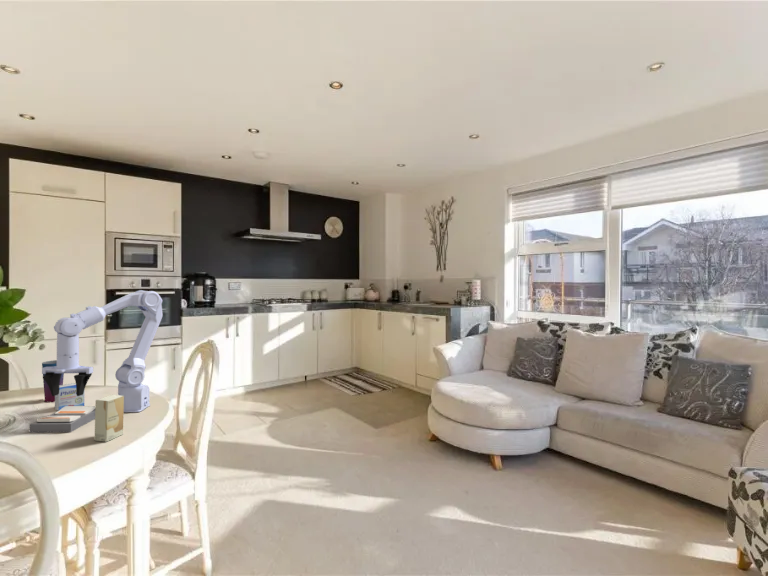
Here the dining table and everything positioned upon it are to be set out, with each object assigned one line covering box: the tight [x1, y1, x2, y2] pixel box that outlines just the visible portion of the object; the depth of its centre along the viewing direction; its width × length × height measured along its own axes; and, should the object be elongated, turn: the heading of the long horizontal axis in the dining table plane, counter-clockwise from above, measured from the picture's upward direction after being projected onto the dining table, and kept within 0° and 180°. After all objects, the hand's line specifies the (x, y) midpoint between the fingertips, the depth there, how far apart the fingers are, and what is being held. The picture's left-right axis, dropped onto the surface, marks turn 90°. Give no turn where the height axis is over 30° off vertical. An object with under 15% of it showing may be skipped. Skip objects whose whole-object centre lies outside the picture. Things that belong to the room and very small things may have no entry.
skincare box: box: [94, 394, 125, 443], centre depth 118 cm, size 6×4×12 cm
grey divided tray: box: [28, 409, 95, 434], centre depth 129 cm, size 12×15×3 cm
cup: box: [41, 359, 65, 403], centre depth 151 cm, size 7×7×15 cm
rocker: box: [36, 415, 81, 422], centre depth 125 cm, size 10×5×1 cm, turn 95°
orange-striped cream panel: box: [54, 405, 95, 415], centre depth 132 cm, size 10×5×1 cm, turn 95°
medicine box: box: [54, 382, 86, 412], centre depth 143 cm, size 8×4×9 cm, turn 143°
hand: (67, 395), depth 128 cm, fingers open, 7 cm apart
